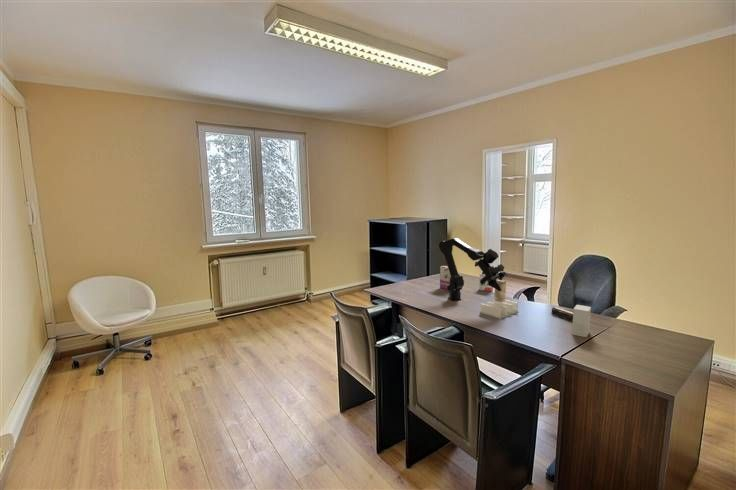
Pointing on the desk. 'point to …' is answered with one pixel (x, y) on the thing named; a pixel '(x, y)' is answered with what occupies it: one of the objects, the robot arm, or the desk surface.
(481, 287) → the ink box
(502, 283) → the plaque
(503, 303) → the rack
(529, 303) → the desk surface
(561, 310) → the brown flat box
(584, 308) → the small box
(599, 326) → the desk surface
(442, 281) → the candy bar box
